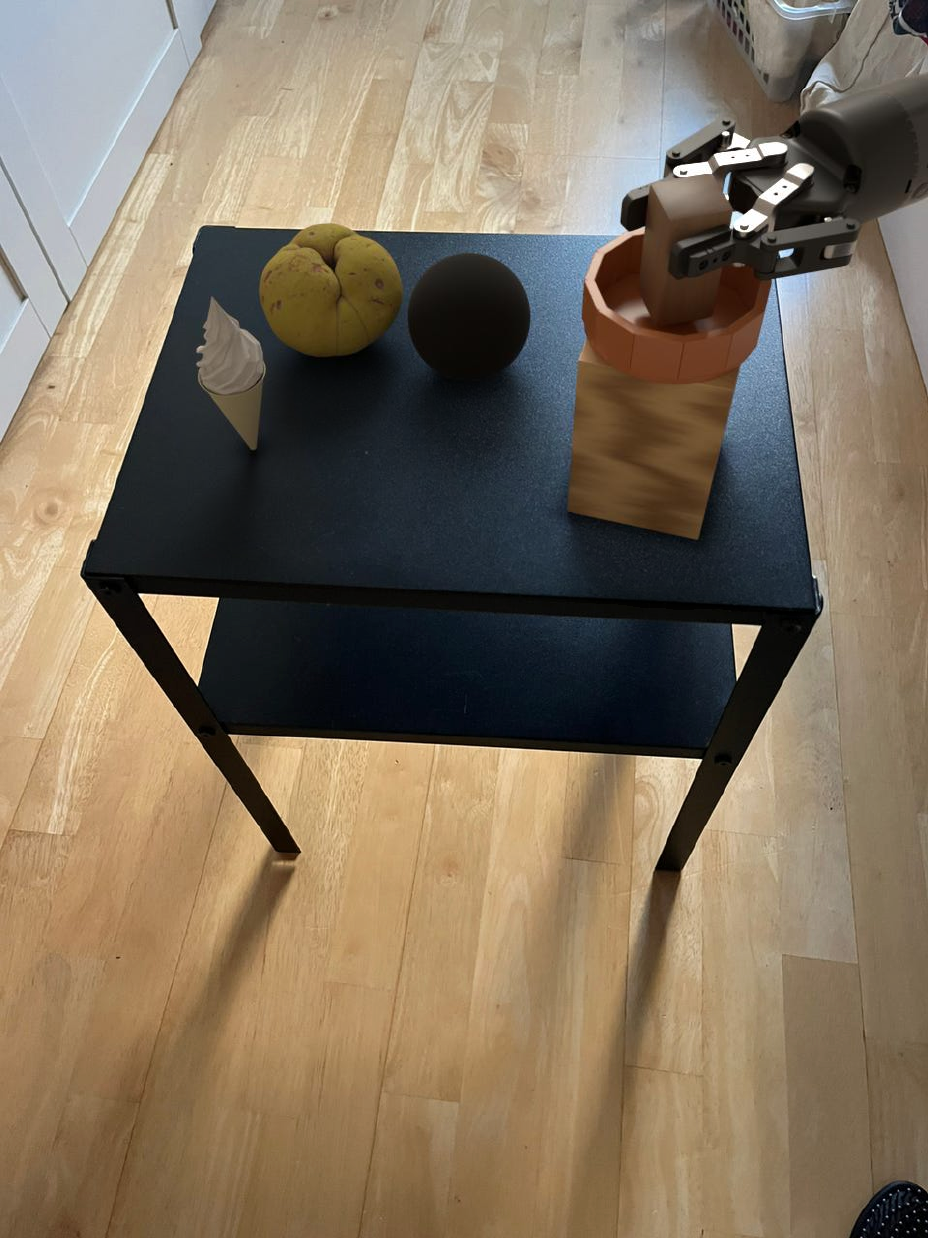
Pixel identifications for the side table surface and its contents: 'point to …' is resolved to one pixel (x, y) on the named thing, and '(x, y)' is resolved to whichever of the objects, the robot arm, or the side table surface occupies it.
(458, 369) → the decorative ball
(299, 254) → the fruit
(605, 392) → the stand
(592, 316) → the pan
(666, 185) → the wooden block
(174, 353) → the side table surface
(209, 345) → the ice cream cone
